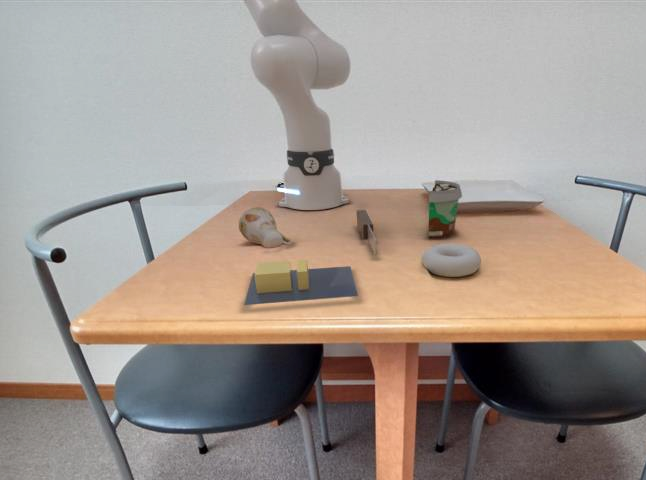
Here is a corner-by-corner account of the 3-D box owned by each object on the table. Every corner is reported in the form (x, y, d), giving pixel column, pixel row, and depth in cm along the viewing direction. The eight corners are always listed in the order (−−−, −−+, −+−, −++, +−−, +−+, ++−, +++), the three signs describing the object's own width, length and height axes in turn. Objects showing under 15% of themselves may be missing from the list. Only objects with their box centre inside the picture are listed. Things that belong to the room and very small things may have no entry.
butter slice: (299, 277, 69) (297, 259, 67) (308, 276, 69) (307, 259, 68) (298, 290, 64) (296, 271, 63) (308, 289, 64) (307, 270, 63)
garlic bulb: (262, 258, 80) (236, 209, 79) (255, 264, 89) (231, 220, 88) (298, 241, 83) (272, 193, 82) (287, 249, 92) (264, 206, 91)
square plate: (510, 191, 130) (512, 178, 128) (544, 215, 105) (547, 199, 103) (420, 193, 129) (421, 179, 127) (433, 217, 104) (434, 201, 102)
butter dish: (253, 278, 71) (250, 255, 69) (350, 271, 73) (349, 249, 72) (244, 311, 60) (240, 285, 59) (358, 302, 63) (357, 276, 61)
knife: (357, 227, 97) (356, 209, 95) (366, 227, 97) (365, 209, 96) (369, 259, 78) (369, 238, 77) (380, 259, 79) (380, 237, 77)
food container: (458, 243, 87) (461, 192, 82) (427, 241, 88) (429, 191, 83) (460, 225, 97) (463, 180, 93) (433, 224, 99) (435, 179, 94)
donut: (411, 273, 73) (466, 284, 68) (411, 254, 71) (468, 264, 66) (436, 256, 80) (488, 264, 75) (437, 238, 79) (490, 245, 74)
